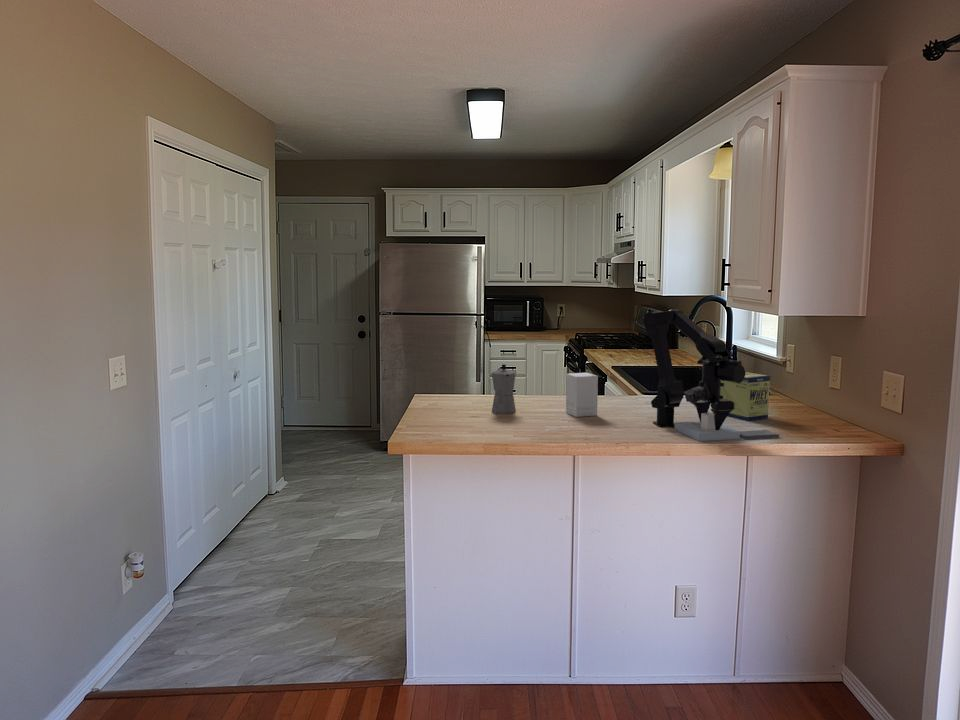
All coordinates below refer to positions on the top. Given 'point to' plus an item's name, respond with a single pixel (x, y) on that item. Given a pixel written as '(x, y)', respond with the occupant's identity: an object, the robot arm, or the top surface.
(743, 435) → the phone
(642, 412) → the top surface
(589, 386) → the supplement box
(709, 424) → the charger
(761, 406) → the protein box
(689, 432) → the plate
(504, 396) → the coffeepot
